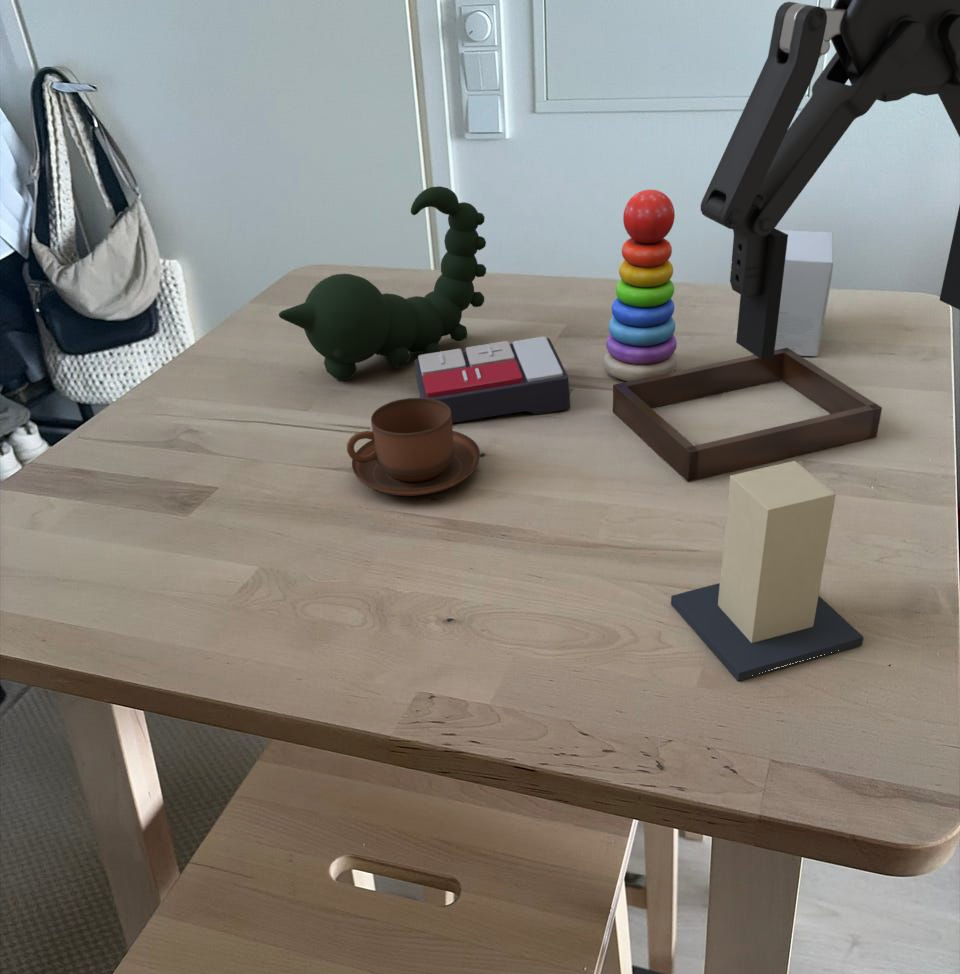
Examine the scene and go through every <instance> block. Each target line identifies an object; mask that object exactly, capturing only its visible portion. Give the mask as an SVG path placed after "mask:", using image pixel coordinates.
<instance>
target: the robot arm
mask: <svg viewBox="0 0 960 974" xmlns="http://www.w3.org/2000/svg"><path fill="white" fill-rule="evenodd" d="M772 26H773V27H772V31H771V32H772V33H771V36H770V37H771V38H770V43H769V49H768V54H767V59H766V60H765V62H764V64H763V67H762V69H761V71H760V73H759V75H758V78H757V80H756V82H755V84H754V86H753V89H752V90H751V93H750V95H749V97H748V100H747V101H746V103H745V105H744V108H743V110H742V112H741V114H740V117H739V118H738V121H737V123H736V126H735V128H734V130H733V132H732V134H731V137H730V138H729V141H728V143H727V145H726V147H725V149H724V152H723V154H722V156H721V158H720V161H719V162H718V165H717V167H716V169H715V172H714V174H713V176H712V178H711V180H710V182H709V184H708V187H707V188H706V191H705V193H704V195H703V197H702V200H701V202H700V212H701V214H702V215H703V216H704V217H706V218H708V219H709V220H712V221H713V222H715V223H717V224H719V225H721V226H722V227H725V228H727V229H728V230H732V231H733V241H732V253H731V263H730V273H729V274H730V277H729V283H730V286H731V290H732V291H734V292H735V293H737V294H739V295H740V297H739V308H738V317H737V327H736V328H737V329H736V341H735V343H736V344H738V345H739V346H740V347H741V348H744V349H745V350H747V351H748V352H750V353H751V354H752V355H756V356H757V357H759V358H760V359H761V360H762V359H767V358H772V357H774V351H775V343H776V334H777V326H778V317H779V309H780V300H781V292H782V283H783V275H784V266H785V258H786V249H787V241H788V235H787V234H785V233H783V232H781V231H779V230H780V229H777V228H776V227H777V226H778V224H779V223H780V221H782V219H783V218H784V216H785V215H786V213H787V212H789V209H790V208H791V207H792V205H793V204H794V202H795V201H796V200H797V199H798V197H799V196H800V194H801V193H802V192H803V190H804V189H805V187H806V186H807V185H808V183H810V181H811V179H812V178H813V177H814V175H815V174H816V173H817V171H818V170H819V169H820V167H821V166H822V165H823V163H824V162H825V160H826V159H827V158H828V156H829V155H830V154H831V152H832V150H833V149H834V148H835V147H836V145H837V144H838V143H839V141H840V140H841V139H842V137H843V136H844V135H845V133H846V132H847V130H848V129H849V127H850V126H851V125H852V123H853V122H854V121H855V120H856V119H858V118H860V117H863V116H864V115H865V114H866V113H868V112H869V111H870V109H871V108H872V107H873V105H874V104H875V103H876V101H880V102H883V103H889V102H895V101H899V100H902V99H904V98H906V97H908V96H910V95H912V94H915V95H919V96H924V97H928V96H934V95H938V97H939V100H940V101H941V103H942V105H943V107H944V110H945V111H946V113H947V115H948V118H949V119H950V121H951V123H952V125H953V127H954V129H955V131H956V133H957V135H958V137H959V138H960V0H835V2H834V4H833V6H832V7H821V6H817V5H812V4H805V3H800V2H794V1H786V2H785V1H784V2H783V3H782V4H781V5H780V6H779V7H778V9H777V10H776V13H775V16H774V22H773V25H772ZM830 41H831V42H830ZM831 44H832V45H833V47H834V50H835V53H834V54H833V56H832V58H831V59H830V60H829V62H828V63H827V65H826V66H825V68H824V69H823V70H822V71H821V73H820V75H818V77H817V78H816V80H815V81H814V83H813V85H812V87H811V92H812V94H811V97H810V98H809V99H808V101H807V102H806V104H805V105H804V106H803V108H802V109H801V110H800V112H799V114H798V115H797V116H796V114H797V112H798V110H799V108H800V105H801V104H802V102H803V99H804V98H805V95H806V93H807V91H808V89H809V87H810V84H811V82H812V80H813V78H814V76H815V72H816V69H817V66H818V63H819V60H820V58H821V57H822V56H824V55H826V54H828V52H829V51H830V49H831ZM848 80H849V83H850V85H849V84H846V83H847V82H848ZM795 116H796V118H795V119H794V117H795ZM957 211H958V212H957V215H956V221H955V224H954V229H953V234H952V238H951V244H950V248H949V252H948V253H949V254H948V257H947V263H946V267H945V272H944V277H943V281H942V284H941V285H942V286H941V290H940V295H939V299H938V300H939V301H940V302H942V303H945V304H946V305H949V306H951V307H952V308H955V309H956V310H959V311H960V205H959V206H958V210H957Z"/></svg>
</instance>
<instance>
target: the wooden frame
mask: <svg viewBox="0 0 960 974" xmlns="http://www.w3.org/2000/svg"><path fill="white" fill-rule="evenodd" d="M777 381H782V382H784V383H785V384H787V385H788V386H789V387H791V388H793V389H794V390H796V391H797V392H798V393H800V394H802V395H803V396H804V397H806V398H807V399H809V400H810V401H812V402H813V403H815V405H818V406H819V407H821V408H822V409H824V411H826V412H828V413H829V414H826V415H821V416H817V417H813V418H809V419H808V418H807V419H804V420H799V421H795V422H791V423H786V424H782V425H778V426H773V427H770V428H764V429H760V430H756V431H752V432H747V433H743V434H738V435H735V436H730V437H726V438H721V439H717V440H713V441H712V440H711V441H708V442H703V443H700V444H695V445H694V444H693V443H692V442H691V441H689V439H687V438H686V437H685V436H684V435H683V434H681V432H679V430H677V429H675V427H673V426H672V425H671V423H669V422H668V421H667V420H665V419H664V418H663V417H662V416H661V415H660V414H659V413H657V412H656V411H655V410H654V409H653V408H658V407H662V406H667V405H671V404H676V403H680V402H686V401H690V400H694V399H699V398H703V397H708V396H712V395H716V394H722V393H726V392H730V391H735V390H740V389H744V388H748V387H753V386H758V385H762V384H768V383H772V382H777ZM882 411H883V407H882V406H881V405H879V404H877V403H876V402H875V401H873V400H871V399H869V398H868V397H866V396H865V395H863V394H861V393H860V392H858V391H857V390H855V389H853V388H852V387H851V386H849V385H848V384H846V383H844V382H843V381H841V380H839V379H837V378H836V377H835V376H833V375H831V374H829V372H827V371H825V370H823V369H822V368H821V367H819V366H817V365H815V364H814V363H812V362H811V361H809V360H808V359H806V358H805V357H804V356H800V355H798V354H797V353H795V352H793V351H792V350H790V349H789V348H783V349H778V350H775V351H774V357H772V358H767V359H762V360H761V359H760V358H759V357H757V356H756V355H754V354H750V355H746V356H741V357H736V358H731V359H727V360H722V361H717V362H714V363H708V364H703V365H699V366H695V367H689V368H684V369H679V370H676V371H675V370H674V371H673V372H670V373H665V374H661V375H656V376H651V377H646V378H642V379H637V380H632V381H623V382H619V383H614V384H612V413H613V414H614V415H615V416H616V417H618V418H619V420H621V421H622V422H623V423H624V424H625V425H626V426H627V427H628V428H629V429H631V430H632V432H634V433H635V434H636V435H637V436H638V437H639V438H640V439H641V440H642V441H643V442H645V443H646V444H647V445H648V447H649V448H651V449H652V450H653V451H654V453H656V454H657V455H658V456H659V457H660V458H661V459H663V460H664V461H665V462H666V464H667V465H669V467H671V468H672V469H673V470H674V471H675V472H676V473H678V474H679V475H680V476H681V477H682V478H683V479H684V480H685V481H686V482H688V483H689V482H692V481H696V480H700V479H705V478H708V477H709V478H710V477H713V476H717V475H722V474H726V473H731V472H734V471H738V470H742V469H746V468H751V467H756V466H759V465H763V464H768V463H772V462H776V461H781V460H784V459H788V458H793V457H798V456H801V455H805V454H810V453H815V452H819V451H822V450H825V449H826V450H827V449H831V448H834V447H838V446H842V445H847V444H852V443H856V442H859V441H863V440H868V439H869V440H870V439H872V438H877V437H878V432H879V427H880V423H881V422H880V421H881V416H882Z"/></svg>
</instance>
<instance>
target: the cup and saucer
mask: <svg viewBox="0 0 960 974" xmlns="http://www.w3.org/2000/svg"><path fill="white" fill-rule="evenodd" d="M370 422H371V429H372V430H363V431H359V432H357V433H354V434H353V435H352V436H351V437H350V438H349V440H348V441H347V443H346V452H347V454H348V456H349V457H350V458H351V467H352V472H353V473H354V475H355V477H356V478H357V479H358V481H359V482H361V483H362V484H364V485H365V486H367V487H369V489H370V488H371V489H372V490H374V491H377V492H380V493H383V494H389V495H393V496H400V497H401V496H405V497H410V496H415V497H416V496H424V495H429V494H434V493H438V492H442V491H444V490H447V489H450V488H452V487H455V486H456V485H458V484H460V483H462V482H463V481H464V480H465V479H467V478H468V477H469V476H470V475H471V474H472V473H473V472H474V471H475V470H476V469H477V467H478V465H479V461H480V457H481V450H480V447H479V445H478V444H477V442H475V441H474V439H472V438H471V437H470V436H468V435H466V434H464V433H461V432H459V431H456V430H453V423H452V415H451V410H450V408H449V407H448V406H447V405H446V404H445V403H443V402H441V401H438V400H434V399H429V398H421V397H409V398H402V399H397V400H393V401H391V402H387V403H385V404H383V405H381V406H379V407H378V408H377V409H375V410H374V412H373V413H372V415H371V417H370ZM363 439H364V440H365V439H366V440H369V441H367V442H366V443H365V444H363V445H362V446H361V447H360V448H358V450H355V445H356V443H357V442H358V441H360V440H363Z"/></svg>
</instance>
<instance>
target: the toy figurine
mask: <svg viewBox="0 0 960 974" xmlns="http://www.w3.org/2000/svg"><path fill="white" fill-rule="evenodd" d="M430 207H431V208H435V209H436V210H437V211H438V212H440V213H442V214H444V215H448V216H447V222H448V223H447V224H448V226H449V228H448V229H447V230H446V233H445V235H444V241H443V242H444V246H445V247H444V248H445V250H446V252H445V253H444V255H443V257H442V258H441V261H440V272H441V273H440V275H439V276H438V278H437V279H436V281H435V283H434V286H433V291H430V292H428V293H427V294H425V296H416V295H415V296H411V297H410V296H409V297H406V298H405V297H403V296H401V295H398V294H396V293H382V292H381V290H379V288H378V287H377V286H376V285H375V284H373V283H372V282H370V280H369V279H366V278H364V277H362V276H359V275H356V274H351V273H337V274H332V275H330V276H328V277H325V278H324V279H322V280H320V281H319V282H318V283H317V284H316V285H315V286H314V287H313V288H312V289H311V290H310V291H309V293H308V295H307V297H306V299H305V301H304V302H302V303H300V304H298V305H295V306H292V307H289V308H287V309H284V310H281V311H280V312H279V313H278V317H279V318H281V320H283V321H286V322H288V323H290V324H293V325H295V326H296V327H299V328H301V329H303V330H304V333H305V335H306V338H307V340H308V341H309V342H308V343H310V345H311V346H312V348H314V350H315V351H316V352H317V353H319V355H320V356H322V357H324V362H323V365H324V367H325V370H326V372H327V373H328V374H329V375H331V376H332V377H333V378H334V379H336V380H340V381H348V380H350V379H352V377H353V376H354V375H355V374H356V372H357V365H356V364H358V363H362V362H365V361H367V360H369V359H370V358H372V357H373V356H374V355H377V356H382V357H387V358H386V359H387V361H388V364H390V365H392V366H394V367H396V368H398V369H399V368H402V367H404V366H407V365H408V363H409V361H410V358H411V355H410V352H412V353H419V354H421V353H422V355H423V354H429V353H435V352H441V347H440V345H439V342H440V341H441V340H442V338H443V337H447V336H450V339H451V340H453V341H455V342H459V343H461V342H463V341H464V340H465V339H467V337H468V329H467V326H465V325H463V324H461V320H462V316H463V311H465V310H466V309H468V308H469V306H470V305H471V307H473V308H481V307H482V306H483V305H484V303H485V296H484V295H483V293H482V292H481V291H475V286H474V283H473V281H474V280H476V278H482V277H485V275H487V267H486V266H485V264H483V263H478V259H477V257H476V254H477V253H478V251H481V250H483V249H484V248H485V247H486V246H487V241H486V239H485V237H484V236H481V235H479V233H478V231H477V229H478V227H479V226H482V225H483V224H484V223H485V218H486V217H485V215H484V214H483V213H482V212H479V211H478V209H477V208H476V207H475V206H474V205H473V204H471V203H469V202H466V201H465V202H464V201H463V202H462V201H461V202H459V198H458V196H457V195H456V193H455V192H454V191H453V190H452V189H450V188H448V187H445V186H442V185H440V186H430V187H427V188H425V189H423V190H422V191H420V193H419V194H418V195H417V196H416V197H415V199H414V200H413V203H412V205H411V207H410V214H411V216H416V215H417V214H419V213H420V212H421V211H422V210H424V209H425V208H430Z"/></svg>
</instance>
